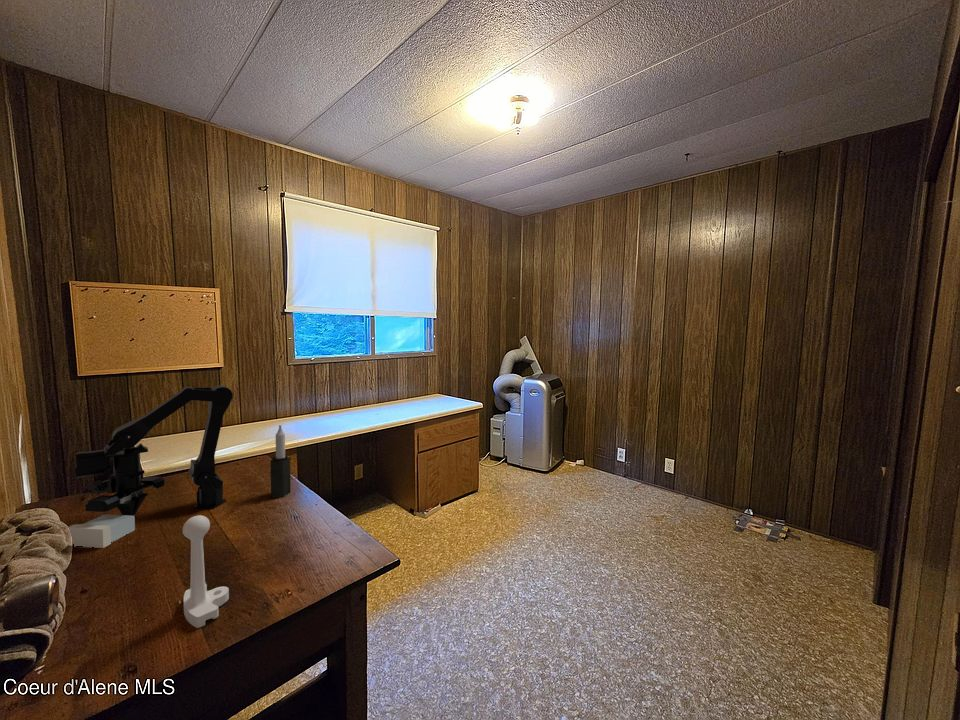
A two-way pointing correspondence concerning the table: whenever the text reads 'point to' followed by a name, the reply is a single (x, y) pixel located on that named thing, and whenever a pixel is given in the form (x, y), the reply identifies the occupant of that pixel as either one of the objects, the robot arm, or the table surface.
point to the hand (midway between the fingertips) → (129, 521)
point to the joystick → (200, 578)
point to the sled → (115, 524)
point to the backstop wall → (90, 535)
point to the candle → (280, 468)
